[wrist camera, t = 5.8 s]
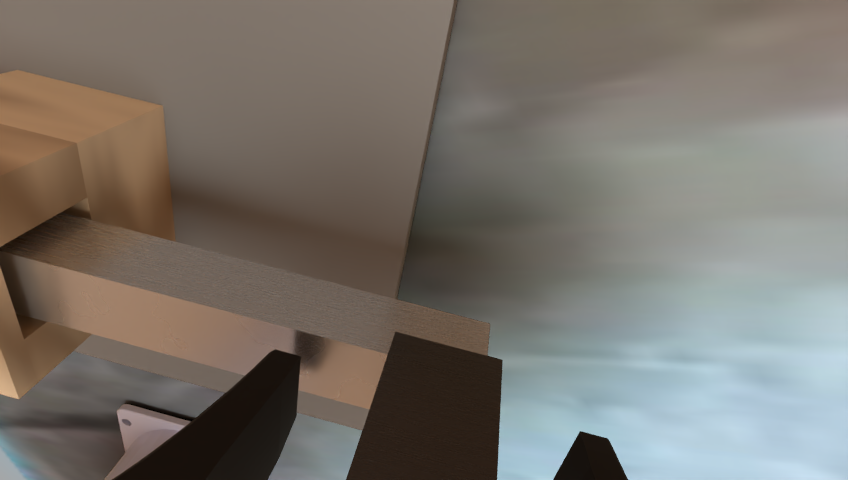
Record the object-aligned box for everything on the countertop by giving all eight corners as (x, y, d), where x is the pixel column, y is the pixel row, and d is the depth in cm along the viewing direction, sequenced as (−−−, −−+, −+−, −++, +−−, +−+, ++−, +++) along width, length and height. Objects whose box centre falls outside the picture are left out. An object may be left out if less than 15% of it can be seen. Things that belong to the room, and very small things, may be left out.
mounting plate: (373, 414, 23) (367, 431, 22) (14, 316, 24) (-4, 329, 23) (476, -95, 13) (473, -99, 12) (-167, -236, 13) (-214, -249, 13)
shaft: (476, 390, 14) (452, 622, 9) (-16, 258, 15) (-277, 409, 10) (504, 311, 13) (494, 539, 8) (-47, 168, 13) (-376, 294, 8)
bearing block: (177, 258, 19) (19, 399, 13) (55, 226, 19) (-155, 350, 13) (163, 105, 16) (-55, 199, 10) (17, 69, 16) (-281, 139, 10)
